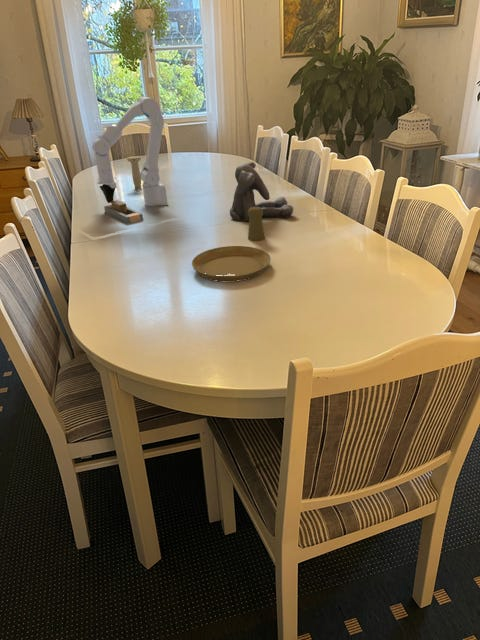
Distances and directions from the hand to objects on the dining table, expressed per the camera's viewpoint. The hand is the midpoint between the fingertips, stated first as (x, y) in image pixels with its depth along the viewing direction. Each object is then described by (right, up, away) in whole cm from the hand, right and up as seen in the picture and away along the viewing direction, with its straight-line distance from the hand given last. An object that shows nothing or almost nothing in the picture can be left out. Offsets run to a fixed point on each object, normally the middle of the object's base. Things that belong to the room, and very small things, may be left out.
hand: (110, 202), depth 220 cm
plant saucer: (+53, -35, -60) cm, 87 cm away
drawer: (+5, -6, -5) cm, 10 cm away
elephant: (+64, -8, -12) cm, 65 cm away
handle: (+4, +16, +39) cm, 42 cm away
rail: (+7, -8, -7) cm, 13 cm away
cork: (+61, -21, -36) cm, 74 cm away
